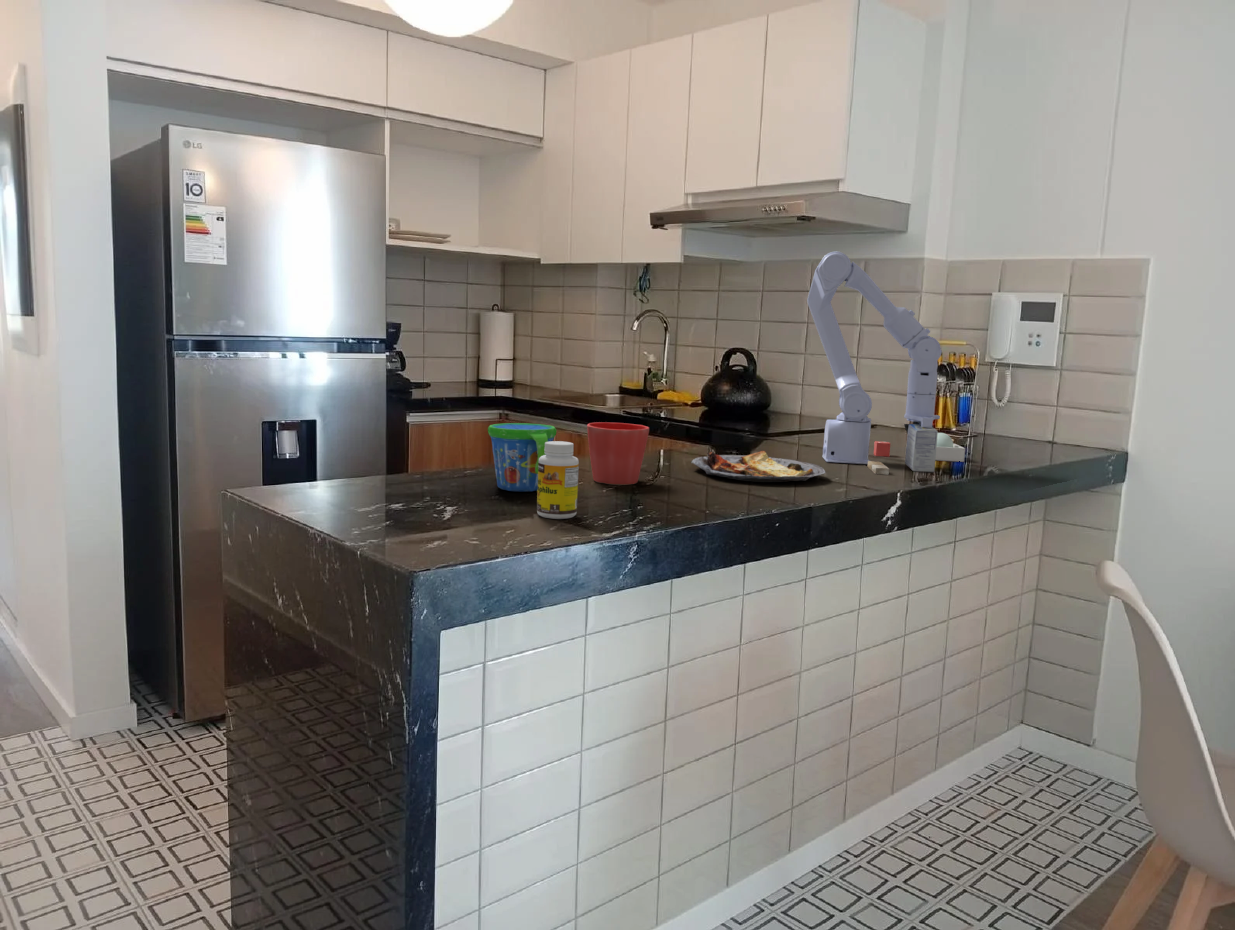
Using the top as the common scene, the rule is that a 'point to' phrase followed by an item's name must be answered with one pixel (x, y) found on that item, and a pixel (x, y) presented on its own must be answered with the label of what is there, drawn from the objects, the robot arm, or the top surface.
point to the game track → (878, 467)
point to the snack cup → (519, 453)
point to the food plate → (757, 467)
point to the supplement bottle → (557, 481)
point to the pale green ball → (944, 440)
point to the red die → (881, 448)
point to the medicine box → (921, 448)
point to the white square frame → (950, 453)
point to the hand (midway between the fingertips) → (916, 458)
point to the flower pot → (616, 451)
